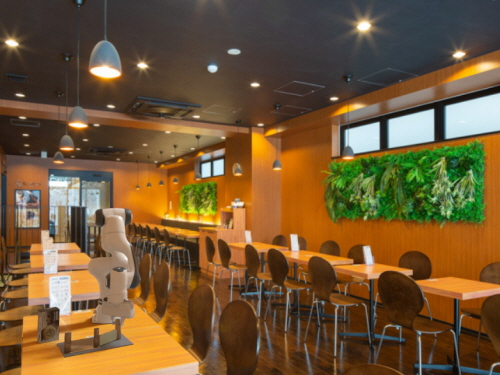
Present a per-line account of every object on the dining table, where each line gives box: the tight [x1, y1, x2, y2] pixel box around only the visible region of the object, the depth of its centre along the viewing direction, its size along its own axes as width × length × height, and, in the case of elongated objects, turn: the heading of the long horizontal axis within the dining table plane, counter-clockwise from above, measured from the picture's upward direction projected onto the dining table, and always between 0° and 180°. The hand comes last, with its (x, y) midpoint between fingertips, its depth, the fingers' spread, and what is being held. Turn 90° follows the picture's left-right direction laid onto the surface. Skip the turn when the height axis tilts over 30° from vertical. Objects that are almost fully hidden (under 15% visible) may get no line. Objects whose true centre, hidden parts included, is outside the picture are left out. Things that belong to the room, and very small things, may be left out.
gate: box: [99, 318, 122, 346], centre depth 199 cm, size 3×14×10 cm, turn 152°
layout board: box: [56, 332, 134, 358], centre depth 196 cm, size 22×32×1 cm
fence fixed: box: [63, 327, 100, 354], centre depth 187 cm, size 3×16×9 cm, turn 125°
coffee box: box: [36, 306, 61, 344], centre depth 203 cm, size 9×6×16 cm
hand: (117, 325), depth 204 cm, fingers open, 3 cm apart
